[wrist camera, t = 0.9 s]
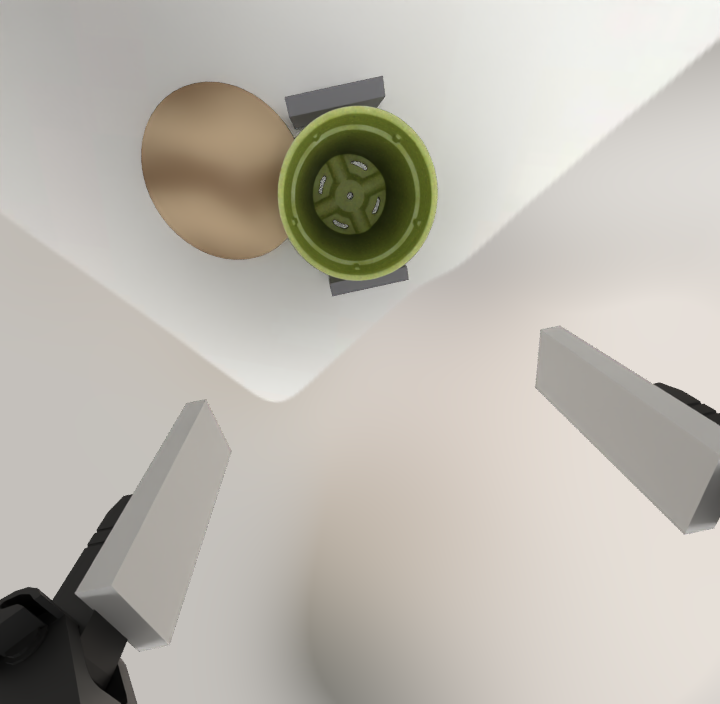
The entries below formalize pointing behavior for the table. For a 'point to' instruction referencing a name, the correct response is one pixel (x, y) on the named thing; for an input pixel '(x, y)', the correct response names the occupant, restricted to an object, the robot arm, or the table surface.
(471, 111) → the table surface
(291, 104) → the twin grey plates
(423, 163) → the plant pot
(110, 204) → the table surface
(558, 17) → the table surface
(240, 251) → the coaster
